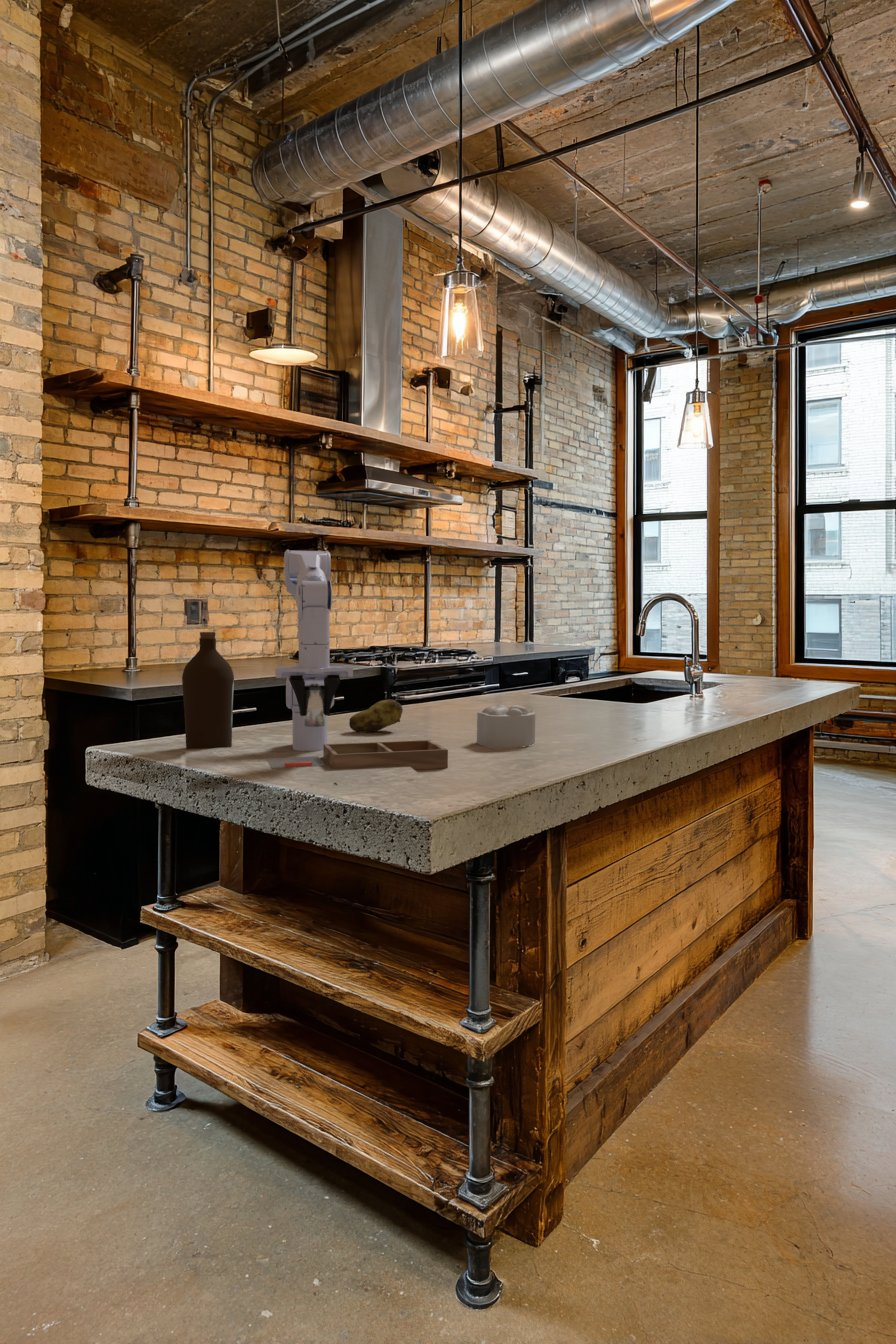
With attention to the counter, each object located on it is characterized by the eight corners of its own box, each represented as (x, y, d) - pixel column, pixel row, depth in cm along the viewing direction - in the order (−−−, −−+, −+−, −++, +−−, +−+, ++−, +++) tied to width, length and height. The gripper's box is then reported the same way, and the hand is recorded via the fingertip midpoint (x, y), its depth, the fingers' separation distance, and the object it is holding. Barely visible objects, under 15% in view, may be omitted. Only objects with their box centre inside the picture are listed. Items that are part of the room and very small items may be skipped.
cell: (302, 724, 161) (302, 683, 160) (323, 723, 162) (323, 682, 162) (305, 727, 157) (305, 685, 157) (326, 726, 158) (326, 684, 158)
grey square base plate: (266, 763, 163) (266, 755, 163) (317, 761, 166) (317, 753, 166) (271, 773, 153) (271, 765, 153) (326, 770, 156) (326, 762, 156)
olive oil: (195, 754, 171) (193, 633, 169) (175, 747, 179) (173, 631, 177) (243, 749, 178) (242, 632, 176) (222, 743, 186) (220, 631, 184)
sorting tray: (323, 761, 165) (323, 744, 165) (429, 756, 172) (429, 740, 172) (334, 773, 154) (334, 754, 154) (447, 767, 161) (447, 749, 160)
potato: (351, 729, 209) (351, 697, 209) (403, 729, 209) (403, 697, 209) (348, 734, 201) (348, 701, 200) (401, 734, 201) (401, 701, 200)
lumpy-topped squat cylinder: (472, 742, 192) (472, 704, 191) (523, 739, 197) (523, 702, 196) (491, 749, 182) (491, 710, 181) (544, 746, 187) (544, 708, 186)
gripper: (277, 645, 153) (278, 718, 154) (356, 644, 157) (355, 716, 158) (274, 643, 159) (274, 713, 160) (349, 643, 164) (349, 711, 165)
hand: (314, 715), depth 160 cm, fingers closed on cell, 4 cm apart
